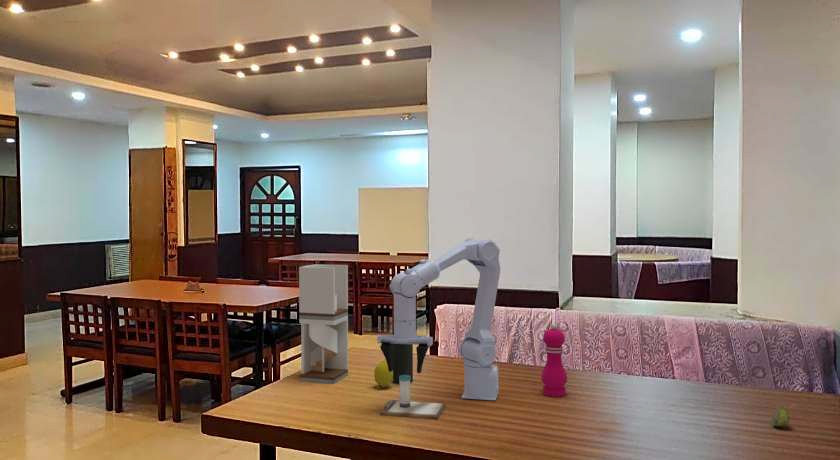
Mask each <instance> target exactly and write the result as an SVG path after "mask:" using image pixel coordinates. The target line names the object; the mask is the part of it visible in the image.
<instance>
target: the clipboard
mask: <svg viewBox="0 0 840 460" xmlns="http://www.w3.org/2000/svg"><path fill="white" fill-rule="evenodd" d="M446 407H447V403H441V402H427V401H425V402H424V401H413V400H410V407H407V408H402V407H400V399H399V400H398V399H397V400H396V399H391V400H390V399H389V400H388V401H387V402H386V403H385V404H384V406H383V409H381V410H380V412H379V415H380V416H388V417H400V418H401V417H402V418H403V417H404V418H416V419H429V420H438V419H439V418H440V416H441V415H442V413H443V411H444V410H445V408H446Z"/></svg>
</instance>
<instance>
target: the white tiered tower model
mask: <svg viewBox="0 0 840 460" xmlns="http://www.w3.org/2000/svg"><path fill="white" fill-rule="evenodd" d="M348 266H349V265H348V264H317V263H316V264H310V265H303V266H299V267H298V279H299V280H298V282H299V283H298V287H299V289H298V290H299V291H298V296H299V297H298V298H299V300H298V303H299V304H298V307H299V309H298V310H299V311H298V312H299V315H298V317H299V321H298V322H299V324H300V325H301V326H300V331H301V332H300V333H301V335H300V337H301V339H300V340H301V346H300V348H301V350H300V351H301V352H300V353H301V354H300V355H301V357H300V358H301V363H300V364H301V371H300V372H301V373H300V374H299V382H304V383H317V384H328V385H329V384H330V385H335V384H337V383H338V382H340V381H341V380H343V379H345V378H346V377H348V376H349V304H348V303H349V290H348V289H349V282H348V281H349V275H348V274H349V273H348V272H349V267H348Z"/></svg>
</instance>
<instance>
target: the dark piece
mask: <svg viewBox="0 0 840 460" xmlns="http://www.w3.org/2000/svg"><path fill="white" fill-rule="evenodd" d="M413 346H414V344H394V349H393V379H392V383H393V384H394V383H396V385H400V380H399V376H401V375H409V376H411V380H410V384H411V383H413V382H414V374H413V373H414V357H413V356H414V347H413Z"/></svg>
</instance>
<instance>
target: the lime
mask: <svg viewBox="0 0 840 460" xmlns="http://www.w3.org/2000/svg"><path fill="white" fill-rule="evenodd" d="M770 418H771V420H770V425H771V426H772V427H774V426H775V427H774V428H784V427H787V426H788V424H789V422H790V415H789V412H788V410H787V408H785V407H784V406H781V405H778V406H776V408H775V409H774V410H773V412H772V415H771V417H770Z"/></svg>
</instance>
